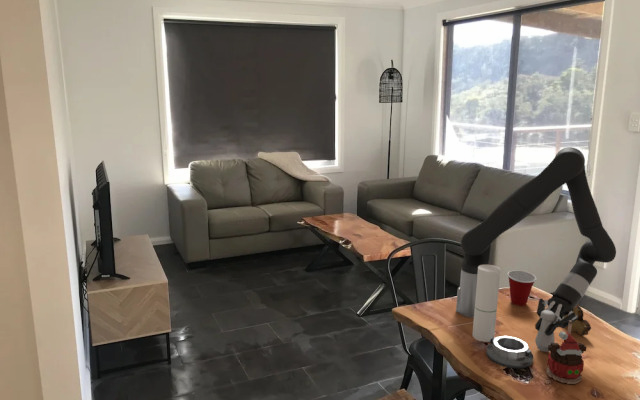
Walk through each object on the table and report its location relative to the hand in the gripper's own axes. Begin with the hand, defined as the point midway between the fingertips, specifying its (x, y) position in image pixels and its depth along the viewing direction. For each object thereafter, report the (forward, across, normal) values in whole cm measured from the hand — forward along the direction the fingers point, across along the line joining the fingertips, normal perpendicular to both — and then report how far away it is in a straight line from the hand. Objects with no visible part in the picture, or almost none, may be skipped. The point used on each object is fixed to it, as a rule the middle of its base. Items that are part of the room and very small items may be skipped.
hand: (541, 331), depth 163 cm
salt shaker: (+3, 0, +6) cm, 7 cm away
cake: (+9, +13, +2) cm, 16 cm away
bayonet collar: (+13, -3, -2) cm, 13 cm away
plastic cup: (-13, -31, +24) cm, 41 cm away
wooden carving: (-12, -6, +23) cm, 27 cm away
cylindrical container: (+11, -16, 0) cm, 20 cm away
